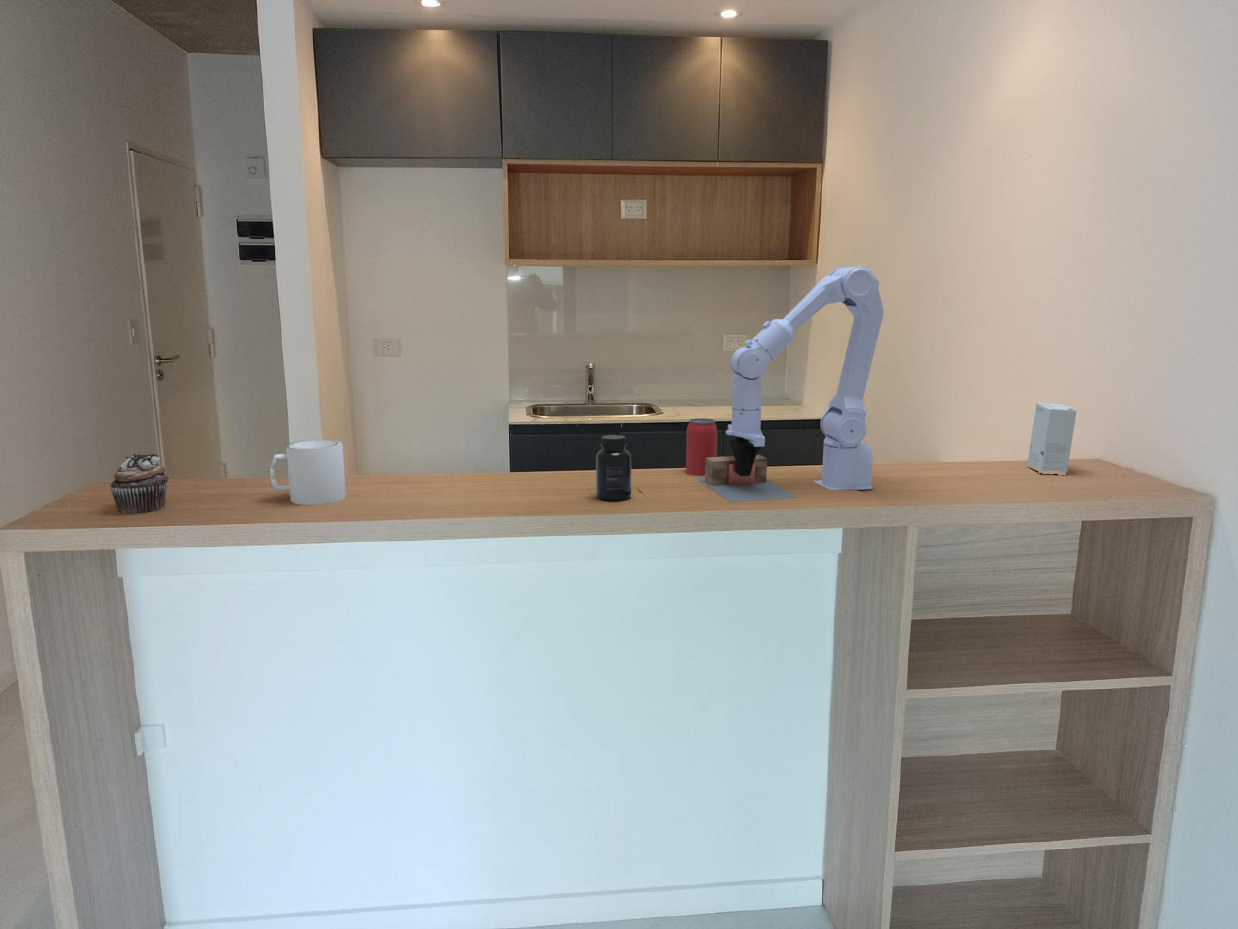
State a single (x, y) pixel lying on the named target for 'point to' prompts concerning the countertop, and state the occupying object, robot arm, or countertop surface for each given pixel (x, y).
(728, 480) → the pin
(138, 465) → the cupcake
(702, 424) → the beer can
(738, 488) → the mat
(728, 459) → the block
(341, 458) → the mug
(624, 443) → the supplement bottle
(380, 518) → the countertop surface
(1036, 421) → the skincare box
